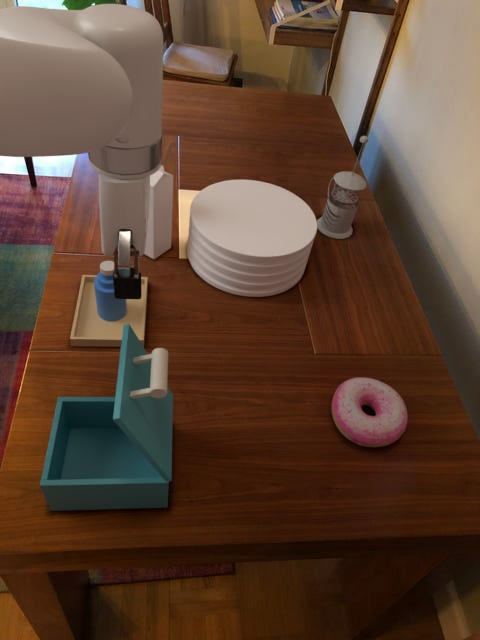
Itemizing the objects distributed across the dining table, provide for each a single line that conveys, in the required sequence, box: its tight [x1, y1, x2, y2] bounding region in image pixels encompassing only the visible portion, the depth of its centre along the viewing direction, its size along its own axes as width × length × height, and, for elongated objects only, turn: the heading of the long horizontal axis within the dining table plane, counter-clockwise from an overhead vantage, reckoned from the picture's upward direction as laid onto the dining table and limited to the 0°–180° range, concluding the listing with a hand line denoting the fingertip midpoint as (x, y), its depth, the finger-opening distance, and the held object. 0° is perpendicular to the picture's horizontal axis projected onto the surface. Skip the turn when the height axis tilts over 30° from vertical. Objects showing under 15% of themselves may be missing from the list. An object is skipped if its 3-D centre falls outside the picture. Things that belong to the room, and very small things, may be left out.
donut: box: [330, 376, 409, 448], centre depth 84 cm, size 14×13×5 cm
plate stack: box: [187, 179, 318, 298], centre depth 108 cm, size 28×28×12 cm
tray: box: [69, 274, 149, 348], centre depth 94 cm, size 17×13×2 cm
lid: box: [113, 324, 174, 482], centre depth 62 cm, size 17×14×5 cm
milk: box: [143, 164, 174, 260], centre depth 102 cm, size 6×6×22 cm
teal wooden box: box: [39, 396, 170, 512], centre depth 71 cm, size 17×14×9 cm
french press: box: [316, 135, 369, 240], centre depth 116 cm, size 10×12×25 cm
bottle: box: [94, 260, 127, 321], centre depth 90 cm, size 6×6×12 cm
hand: (130, 270), depth 62 cm, fingers open, 9 cm apart
